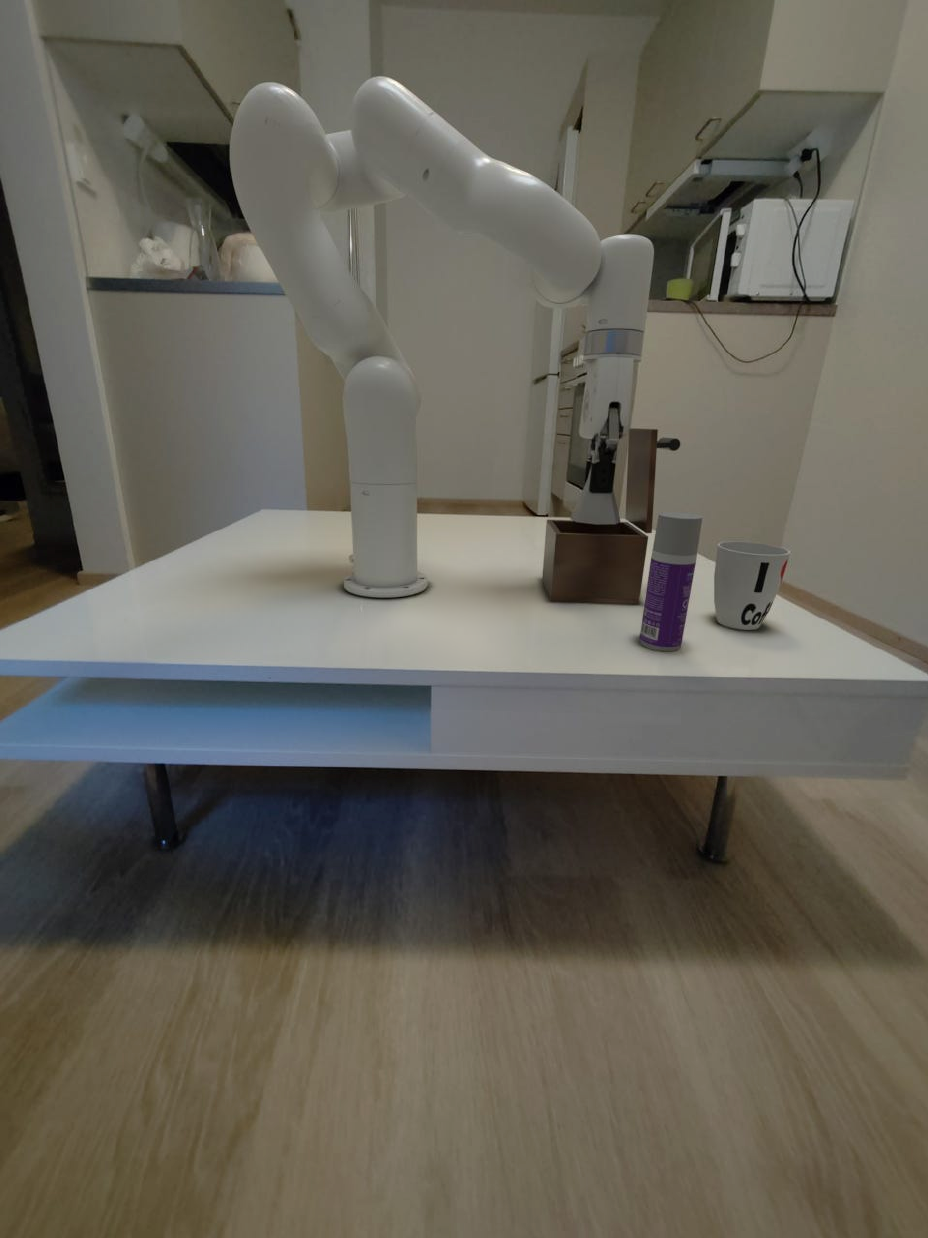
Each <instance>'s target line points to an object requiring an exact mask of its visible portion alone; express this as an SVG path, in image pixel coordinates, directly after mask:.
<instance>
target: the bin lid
mask: <svg viewBox="0 0 928 1238" xmlns="http://www.w3.org/2000/svg"><path fill="white" fill-rule="evenodd" d="M658 435H659V429H657V428H637V427H636V428H632V427H631V428H628V446H627V469H626V472H627V473H626V493H625V494H626V495H625V517H624V519H625V521H626V522H628V523H629V524H631V525H632V526H634V527H635V528H637V529H638V530H640V531H641V532H643V533H644V534H652V533H653V521H654V502H655V488H656V487H655V484H656V469H657V451H658V449H660V450H663V451H664V450H665V451H671V452H675V451H678V450H679V449H680V447H681V440H680V439H678V438H675V437H661V438H659V439H658Z"/></svg>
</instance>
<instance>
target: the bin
mask: <svg viewBox="0 0 928 1238" xmlns="http://www.w3.org/2000/svg"><path fill="white" fill-rule="evenodd" d="M545 526H546V527H545V539H544V551H543V564H542V576H541V577H542V578H541V579H542V582H543V586H544V588H545V590H546V593H547V597H548V598H549V601H550V602H555V603H557V602H558V603H587V604H611V605H613V604H615V605H639V604H640V598H641V592H642V586H643V579H644V578H643V577H644V571H645V563H646V558H647V557H646V556H647V549H648V541H649V536H648V535H647V534H646V533H645V532H643V531H642V530H640V529H639V528H638V527H636V526H635V525H633V524H632V523H630V522H629V521H620V522H619V523H617V524H606V525H594V524H587V523H580V522H575V521H573V520H571V519H546V525H545Z"/></svg>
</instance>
